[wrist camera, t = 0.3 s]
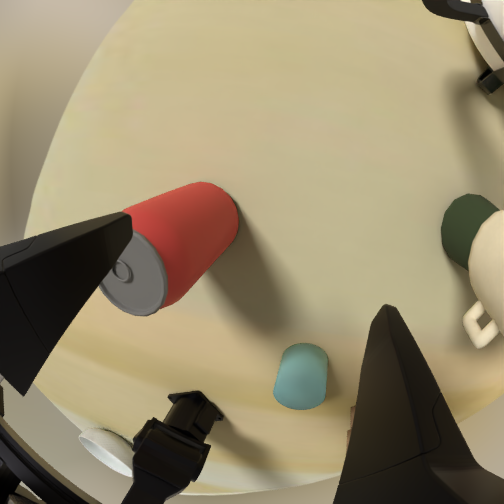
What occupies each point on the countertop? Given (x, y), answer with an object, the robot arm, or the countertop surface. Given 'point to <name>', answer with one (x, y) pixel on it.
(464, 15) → the coffee press
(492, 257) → the character mug
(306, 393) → the teal rounded cylinder
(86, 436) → the cereal bowl
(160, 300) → the beer can
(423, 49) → the countertop surface
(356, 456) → the robot arm
